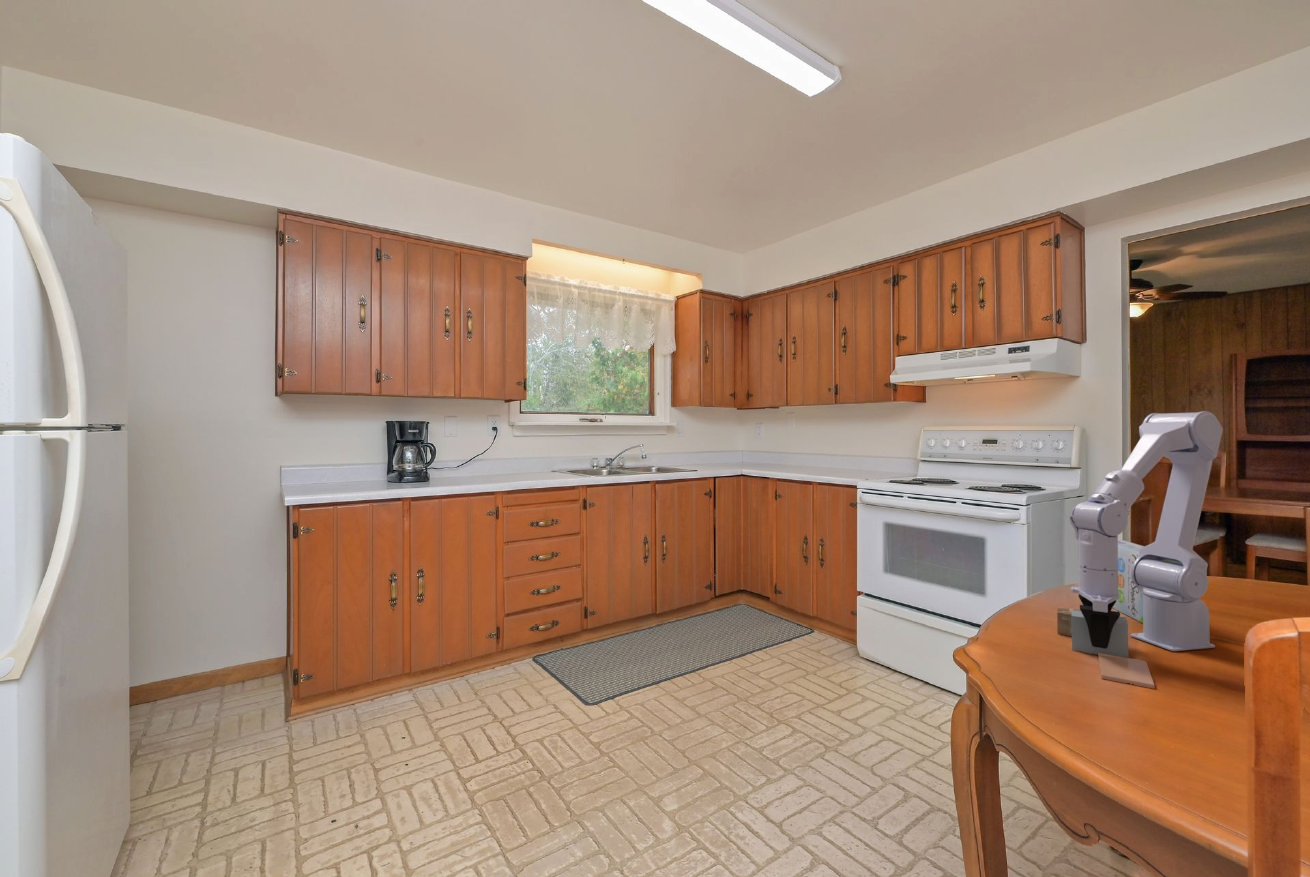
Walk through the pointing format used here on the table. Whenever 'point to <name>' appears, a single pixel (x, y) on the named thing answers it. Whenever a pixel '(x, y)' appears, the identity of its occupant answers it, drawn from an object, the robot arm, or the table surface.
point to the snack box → (1129, 581)
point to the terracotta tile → (1125, 670)
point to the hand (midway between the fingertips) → (1098, 640)
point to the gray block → (1083, 642)
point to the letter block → (1064, 620)
